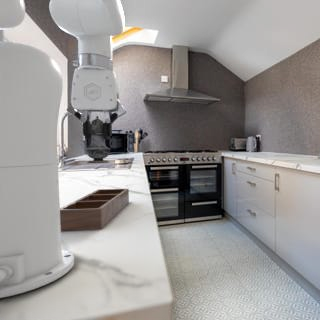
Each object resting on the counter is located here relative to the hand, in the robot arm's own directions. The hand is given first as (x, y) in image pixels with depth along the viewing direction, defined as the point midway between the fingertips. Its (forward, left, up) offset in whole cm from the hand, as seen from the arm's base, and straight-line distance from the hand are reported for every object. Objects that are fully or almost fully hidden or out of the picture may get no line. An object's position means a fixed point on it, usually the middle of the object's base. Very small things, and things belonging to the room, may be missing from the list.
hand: (97, 138), depth 67 cm
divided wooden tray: (0, 0, -20) cm, 20 cm away
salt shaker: (0, 0, -6) cm, 6 cm away
